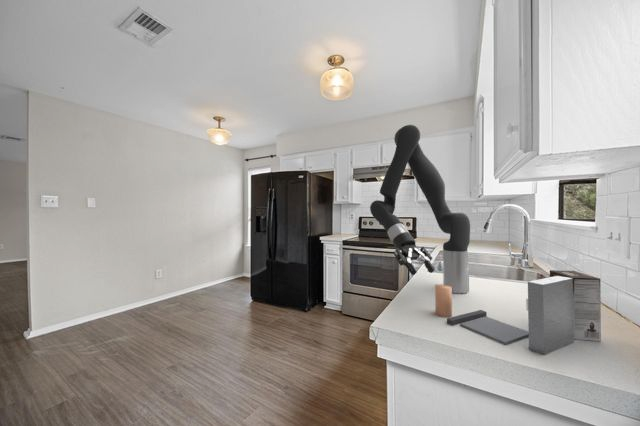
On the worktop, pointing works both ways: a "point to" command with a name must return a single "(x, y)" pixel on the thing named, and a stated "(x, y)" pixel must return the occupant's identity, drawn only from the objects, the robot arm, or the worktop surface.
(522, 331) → the charcoal mat
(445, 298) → the peach domed cylinder
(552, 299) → the breaker panel
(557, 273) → the coffee box
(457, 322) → the dark grey slender bar
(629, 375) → the worktop surface
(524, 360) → the worktop surface
